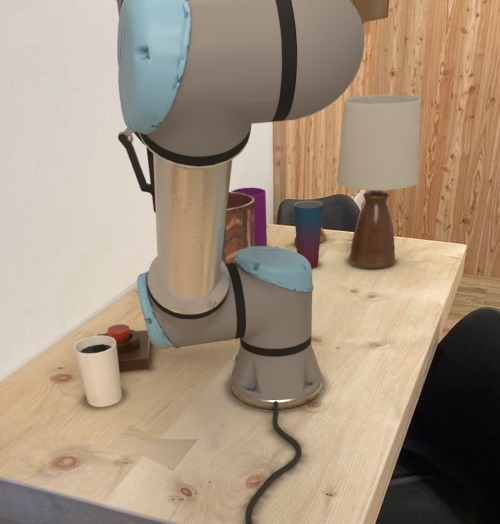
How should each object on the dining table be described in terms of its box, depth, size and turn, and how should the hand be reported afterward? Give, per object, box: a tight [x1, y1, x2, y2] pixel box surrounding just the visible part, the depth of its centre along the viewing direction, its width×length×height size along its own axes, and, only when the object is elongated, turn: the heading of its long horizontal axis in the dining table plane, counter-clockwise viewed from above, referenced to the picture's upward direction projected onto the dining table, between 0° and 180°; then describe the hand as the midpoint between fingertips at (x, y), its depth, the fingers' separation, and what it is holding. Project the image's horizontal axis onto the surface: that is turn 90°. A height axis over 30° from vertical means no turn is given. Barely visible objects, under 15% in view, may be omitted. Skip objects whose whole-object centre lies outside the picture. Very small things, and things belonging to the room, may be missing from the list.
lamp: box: [336, 94, 422, 270], centre depth 149 cm, size 19×19×37 cm
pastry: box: [294, 226, 328, 245], centre depth 172 cm, size 9×7×4 cm
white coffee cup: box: [73, 335, 123, 408], centre depth 104 cm, size 7×7×10 cm
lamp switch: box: [107, 323, 131, 343], centre depth 117 cm, size 4×4×2 cm
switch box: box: [96, 329, 151, 372], centre depth 118 cm, size 12×10×4 cm
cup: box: [293, 199, 324, 269], centre depth 154 cm, size 7×7×15 cm
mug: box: [230, 187, 268, 246], centre depth 164 cm, size 9×16×15 cm, turn 163°
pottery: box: [221, 191, 255, 264], centre depth 149 cm, size 18×18×18 cm
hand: (166, 230), depth 114 cm, fingers closed
